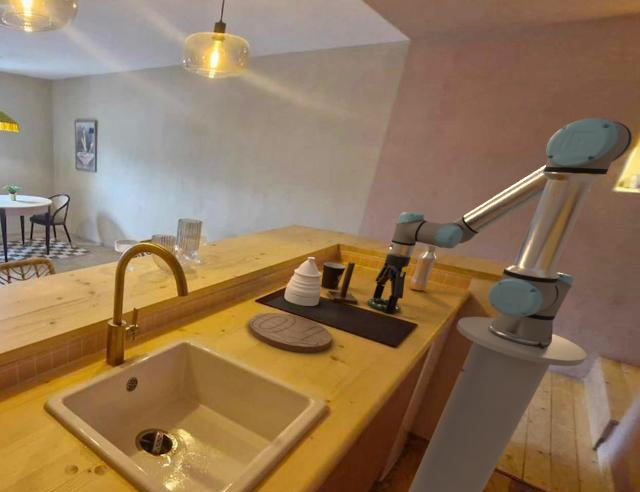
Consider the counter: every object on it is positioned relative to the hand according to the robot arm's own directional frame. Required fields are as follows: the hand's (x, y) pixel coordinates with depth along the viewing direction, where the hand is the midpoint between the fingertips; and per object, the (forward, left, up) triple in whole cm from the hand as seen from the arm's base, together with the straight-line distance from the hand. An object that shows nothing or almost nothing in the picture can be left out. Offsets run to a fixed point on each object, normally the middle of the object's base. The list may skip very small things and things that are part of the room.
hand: (382, 306), depth 154 cm
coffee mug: (+20, +14, 0) cm, 24 cm away
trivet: (-38, +41, 0) cm, 56 cm away
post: (+4, +14, 0) cm, 14 cm away
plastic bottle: (+30, -24, 0) cm, 38 cm away
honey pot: (-3, +31, 0) cm, 31 cm away
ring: (0, 0, +1) cm, 1 cm away
